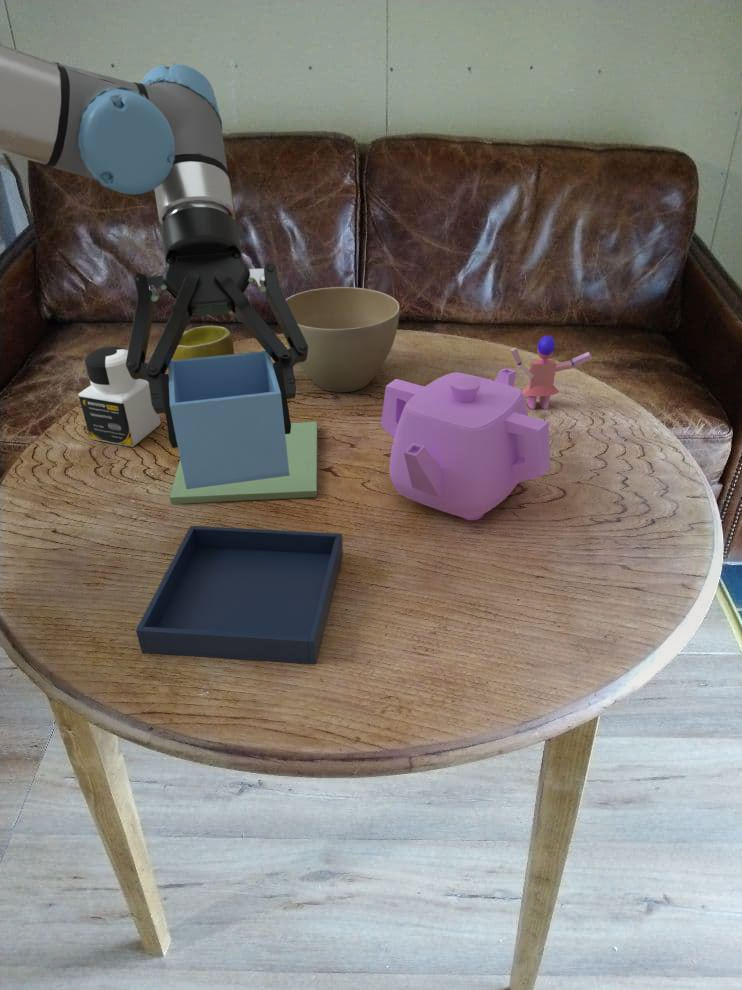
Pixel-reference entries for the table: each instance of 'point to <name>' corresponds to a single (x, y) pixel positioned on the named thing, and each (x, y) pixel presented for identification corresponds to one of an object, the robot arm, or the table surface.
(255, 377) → the upper bin
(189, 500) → the mat
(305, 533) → the lower bin
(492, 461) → the teapot
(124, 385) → the medicine bottle
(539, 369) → the figurine
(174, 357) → the mug
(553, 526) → the table surface
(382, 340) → the beige bowl
